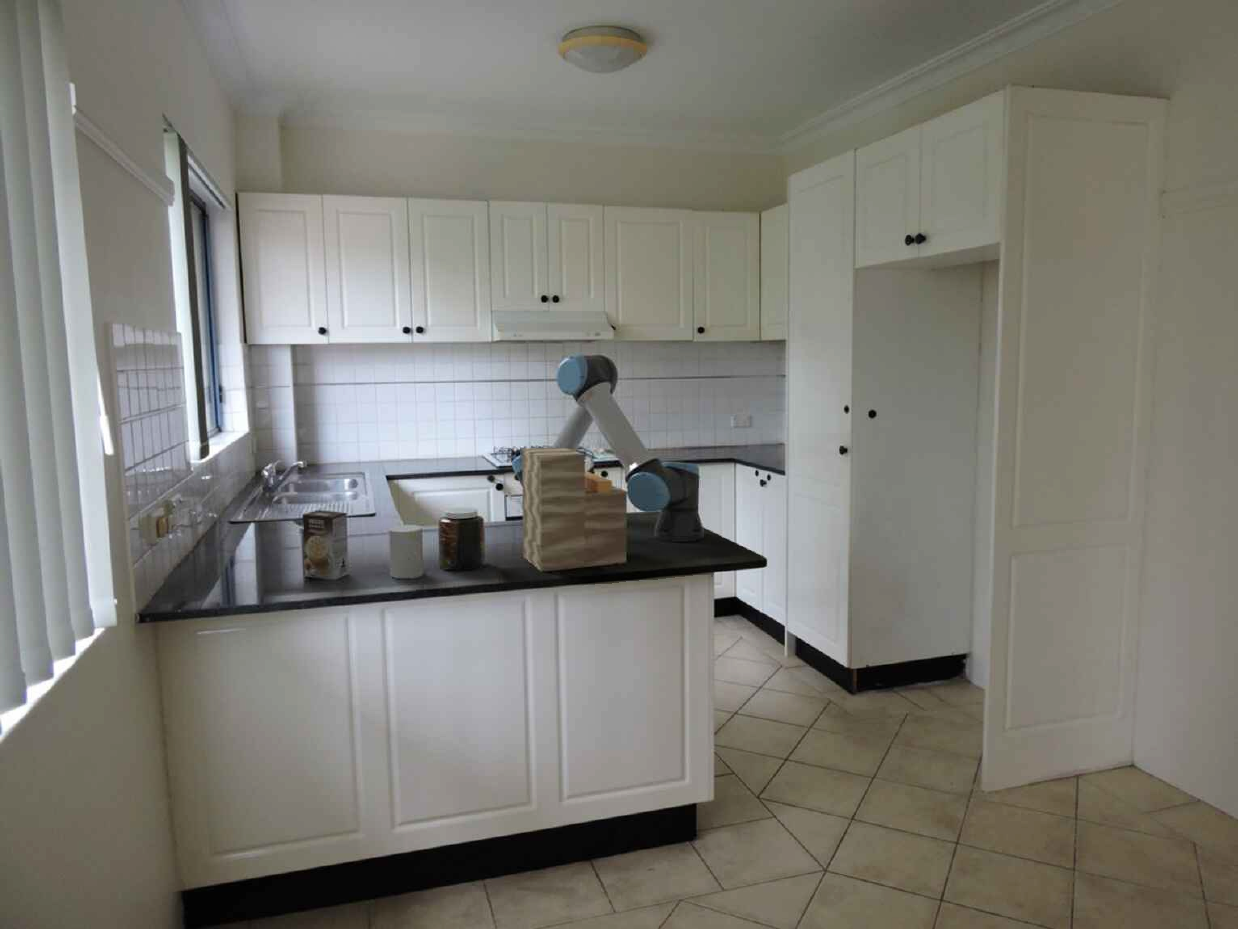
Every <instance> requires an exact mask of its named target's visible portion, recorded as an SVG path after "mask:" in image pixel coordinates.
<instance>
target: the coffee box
mask: <svg viewBox="0 0 1238 929" xmlns="http://www.w3.org/2000/svg"><path fill="white" fill-rule="evenodd" d="M347 516H348V514H347V512H341V511H340V512H339V511H331V510H322V509H316V510H314V511H310V512H307V513H303V514H302V532H303V533H302V535H303V557H304V559H303V560H304V576H305V577H307V578H308V577H309V578H315V579H316V578H317V579H324V580H332V581H334V580H337V579H340V578H342V577H345V576H347V575H349V554H348V553H349V550H348V521H347V520H348V519H347V518H348V517H347Z"/></svg>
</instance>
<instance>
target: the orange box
mask: <svg viewBox="0 0 1238 929" xmlns="http://www.w3.org/2000/svg"><path fill="white" fill-rule="evenodd" d="M612 486H613V481H612V479H608V478H605V477H603V476H600V475H598V474H593V473H590V472H587V471H585V488H588V489H590V490H592V491H595V492H597V493H605V492H612Z"/></svg>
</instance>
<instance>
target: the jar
mask: <svg viewBox="0 0 1238 929" xmlns="http://www.w3.org/2000/svg"><path fill="white" fill-rule="evenodd" d="M437 530H438V531H437V532H438V565H439V569H441V570H444V571H448V572H467V571H468V572H469V570H470V571H474V570H473V569H476V570H478V569H477V568H479V569H481V568H480V567H482V568H483V567H485V566H486V531H485V519H484V517H483V516H481V515H479V514H478V509H477V508H474V507H453V508H448V509H445V510H444V516H443V517H440V518H439V519H438V528H437ZM484 565H485V566H484Z"/></svg>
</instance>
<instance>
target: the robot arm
mask: <svg viewBox="0 0 1238 929" xmlns="http://www.w3.org/2000/svg"><path fill="white" fill-rule="evenodd" d="M556 371H557V374H556V376H555V377H556V383H557V386H558V388H559V390H560V391H561V392H562V393H563V394H565V395H567V396H572V397H573V399H574V401H575V402H576V403H575V405H574V407H573V409H572V410H571V413H570V414H569V416H568V417H567V420H566V421H565V424H564V425H563V426H562V428H561V430H560V432H559V434H558V436H557V437H556V439H555V441H554V443H553V445H552V446H551V448H557V447H564V448H567V449H570V450H573V451H576V452H577V450H578V447H579V446H580V444H581V442H582V441H583V439H584V438H585V436H586V434H587V432H588V430H589V428H590V427H591V425H592V424H593V422H594V423H595V425H596V426H597V427H598V430H600V432H601V434H602V435H603V437H604V439H605V441H606V442H607V444H608V445H609V447H610V448H611V449H612V451H613V453H614V454H615V456H616V458H617V459H618V461H619V462H620V464H621V465H622V467H623V469H624V471H625V476H624V480H625V481H626V491H627V498H628V501H629V502H630V503H631V505H633V507H634V508H636V509H638V510H639V511H641V512H645V513H650V512H658V511H659V515H658V518H657V519H656V520H657V521H656V523H655V526H654V529H653V530H654V531H653V533H654V537H655V539H658V540H662V541H665V542H675V543H680V542H681V543H684V542H685V543H686V542H687V543H689V542H696V541H701V540H703V539H704V537H705V532H704V526H703V523H702V519H701V517H700V513H699V504H700V503H699V501H700V500H699V499H700V498H699V497H700V496H699V495H700V478H701V477H700V469H699V466H698V465H697V464H696V463H689V462H688V463H687V462H681V461H680V462H678V461H661V460H660V459H659V457H657V456H652V455H651V454H650V453H649V451H648V449H647V448H646V446H645V445H644V443H643V441H642V440H641V439H640V437H639V435H638V434H637V433H636V431H635V429H634V428H633V426H632V425H631V423H630V421H629V420H628V418H627V416H625V414H624V412H623V410H622V409H621V407H620V406H619V404H618V403H617V402H616V399H614V397H613V394H614V392H615V389H616V388H617V385H618V380H619V373H618V372H619V371H618V369H617V366H616V364H615V363H614V362H613V360H612V359H611V358H609V357H607V356H605V355H601V354H594V355H593V354H592V355H590V354H589V355H587V354H586V355H582V354H574V355H570V356H567V357H565V358H564V359H563V360H561V362H560V363H559V365H558V367H557V370H556ZM511 466H512V469H513V471H514V474H515V476H516V477H517V479H518V482H519V484H520V485H521V487H522V457H521V454H520V455H518V456H516V457H515V458H514V459H513V460H512V461H511ZM594 466H595V463H594V458H593V456H590V457H589V458H588V459H587V460H586V461H585V471H587V472H590V473H593V474H595V468H594ZM595 475H596V474H595Z"/></svg>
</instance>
